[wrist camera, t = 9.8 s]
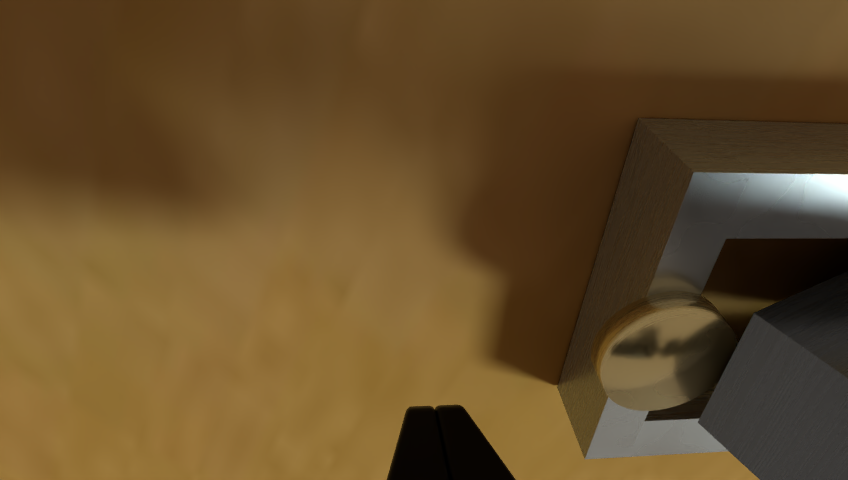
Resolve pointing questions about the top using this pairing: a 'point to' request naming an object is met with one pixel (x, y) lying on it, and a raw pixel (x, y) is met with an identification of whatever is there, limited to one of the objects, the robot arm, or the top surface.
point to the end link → (686, 271)
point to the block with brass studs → (788, 389)
